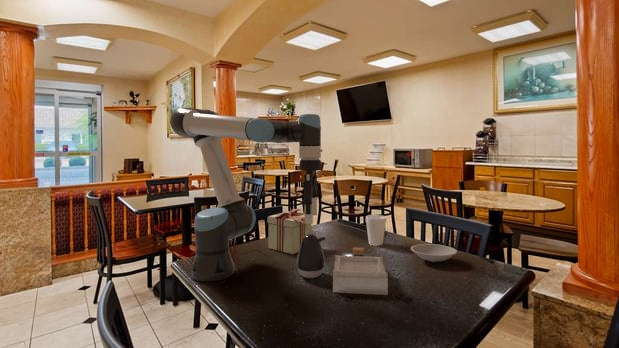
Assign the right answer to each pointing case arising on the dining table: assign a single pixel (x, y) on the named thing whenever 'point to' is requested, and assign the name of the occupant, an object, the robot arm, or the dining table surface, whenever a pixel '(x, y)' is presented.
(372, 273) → the white tray
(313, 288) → the dining table surface
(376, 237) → the foam cup
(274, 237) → the gift box
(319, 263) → the pump dispenser
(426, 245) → the dish
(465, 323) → the dining table surface
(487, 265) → the dining table surface
